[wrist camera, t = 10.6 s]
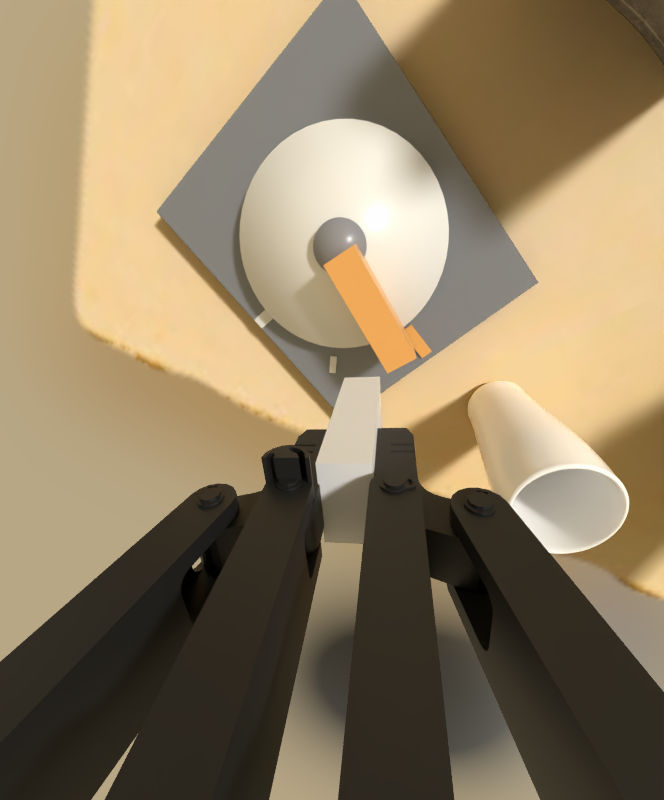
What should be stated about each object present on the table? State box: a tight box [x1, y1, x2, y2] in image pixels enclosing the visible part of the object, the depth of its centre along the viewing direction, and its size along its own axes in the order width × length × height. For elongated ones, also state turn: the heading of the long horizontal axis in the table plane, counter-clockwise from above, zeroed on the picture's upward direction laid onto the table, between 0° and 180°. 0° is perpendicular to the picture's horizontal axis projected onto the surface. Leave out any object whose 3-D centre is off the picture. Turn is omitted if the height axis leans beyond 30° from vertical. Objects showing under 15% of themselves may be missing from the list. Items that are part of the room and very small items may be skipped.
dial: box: [239, 119, 449, 374], centre depth 27 cm, size 18×16×5 cm
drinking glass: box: [468, 381, 629, 554], centre depth 28 cm, size 7×7×15 cm
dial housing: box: [157, 0, 538, 409], centre depth 30 cm, size 24×20×2 cm
